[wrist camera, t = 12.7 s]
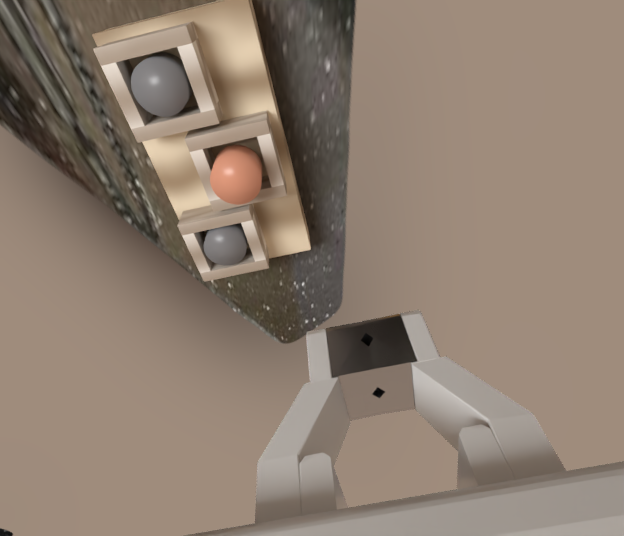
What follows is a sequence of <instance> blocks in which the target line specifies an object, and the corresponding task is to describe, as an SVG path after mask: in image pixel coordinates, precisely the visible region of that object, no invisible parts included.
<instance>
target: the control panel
mask: <svg viewBox="0 0 624 536" xmlns="http://www.w3.org/2000/svg"><path fill="white" fill-rule="evenodd" d="M92 36H93V38H94V40H95V42H96V44H97V46H98V47H96V48H94V49H93V50H94V52H95V54H96V56H97V58H98V61H99V63H100V65H101V67H102V69H103V71H104V73H105V75H106V77H107V79H108V81H109V84H110V86H111V88H112V90H113V92H114V94H115V96H116V98H117V100H118V102H119V105H120V107H121V109H122V111H123V113H124V115H125V117H126V119H127V121H128V123H129V125H130V128H131V130H132V132H133V134H134V136H135V138H136V140H137V142H138V143H139V142H143V144H144V146H145V148H146V150H147V153H148V155H149V157H150V159H151V161H152V163H153V165H154V167H155V170H156V172H157V174H158V176H159V178H160V180H161V182H162V184H163V187H164V189H165V191H166V193H167V195H168V197H169V199H170V201H171V204H172V206H173V208H174V210H175V212H176V214H177V216H178V219H179V223H178V225H177V226H178V228H179V230H180V232H181V234H182V236H183V238H184V240H185V243H186V245H187V247H188V249H189V251H190V253H191V255H192V257H193V259H194V261H195V263H196V266H197V268H198V270H199V272H200V274H201V276H202V278H203V280H204V282H205V281H210V280H214V279H219V278H224V277H229V276H233V275H238V274H243V273H248V272H252V271H257V270H262V269H267V268H269V258H274V257H279V256H283V255H288V254H293V253H298V252H302V251H307V250H311V245H310V237H309V230H308V226H307V222H306V218H305V214H304V210H303V206H302V202H301V198H300V194H299V190H298V186H297V182H296V178H295V174H294V170H293V166H292V162H291V157H290V153H289V149H288V145H287V141H286V137H285V133H284V129H283V125H282V121H281V117H280V113H279V109H278V105H277V101H276V97H275V93H274V89H273V85H272V81H271V77H270V73H269V68H268V64H267V60H266V56H265V52H264V48H263V44H262V40H261V36H260V32H259V28H258V24H257V20H256V16H255V12H254V8H253V4H252V0H219V1H215V2H212V3H208V4H204V5H200V6H196V7H192V8H188V9H184V10H180V11H176V12H172V13H169V14H165V15H161V16H157V17H153V18H149V19H145V20H141V21H137V22H133V23H129V24H126V25H122V26H118V27H114V28H110V29H107V30H104V31H101V32H98V33H95V34H92ZM159 52H166V53H171V54H173V55H175V56H177V57H179V58H180V59H181V60H182V62H183V65H184V67H185V70H186V73H187V76H188V78H189V81H190V84H191V87H192V89H193V93H192V96H191V97H190V99H189V100H188V102H187V103H186V105H185V106H184V108H183V109H182V110H181V111H180V112H179V113H177V114H175V115H173V116H169V117H161V116H157V115H154V114H152V113H150V112H148V111H146V110H145V109H144V108H143V107H142V106H141V105H140V104H139V103H138V101H137V100H136V98H135V96H134V94H133V92H132V88H131V76H132V73H133V70H134V69H135V67H136V66H137V65H138V64H139V63H140V62H142V61H143V60H145V59H146V58H148V57H149V56H151V55H152V54H155V53H159ZM230 145H243V146H246V147H248V148H250V149H252V150H253V151H254V152H255V153H256V154H257V155H258V157H259V158H260V160H261V163H262V183H261V189H260V192H259V194H258V195H257V196H256V197H255V198H254V199H253V200H252V201H250V202H248V203H245V204H239V205H236V204H230V203H227V202H225V201H223V200H221V199H220V198H219V197H218V196H217V195H216V194H215V193H214V191H213V189H212V187H211V184H210V174H211V171H212V168H213V165H214V162H215V159H216V156H217V155H218V153H219V152H220V151H221V150H222V149H224V148H225V147H227V146H230ZM237 223H241V224H242V227H243V230H244V232H245V235H246V238H247V249H246V254H245V256H244V258H243V259H242V260H241V261H240V262H238V263H237V264H234V265H228V266H225V265H219V264H216V263H214V262H213V261H211V260H210V259H209V258H208V257H207V256H206V254H205V252H204V241H205V238H206V234H207V230H210V229H214V228H219V227H224V226H228V225H233V224H237Z"/></svg>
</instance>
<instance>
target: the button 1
mask: <svg viewBox="0 0 624 536" xmlns="http://www.w3.org/2000/svg"><path fill="white" fill-rule="evenodd" d="M131 88H132V92H133V94H134V96H135V98H136V100H137V101H138V103H139V104H140V105H141V106H142V107H143V108H144V109H145V110H146V111H148V112H150V113H152V114H154V115H157V116H161V117H169V116H173V115H175V114H177V113H179V112H180V111H181V110H182V109H183V108H184V106H185V105H186V103H187V102H188V100H189V99H190V97H191V96H192V93H193V89H192V87H191V84H190V81H189V78H188V76H187V73H186V70H185V67H184V65H183V62H182V60H181V59H180V58H179V57H177V56H175V55H173V54H171V53H166V52H159V53H155V54H152V55H151V56H149V57H148V58H146V59H145V60H143V61H142V62H140V63H139V64H138V65H137V66H136V67H135V69H134V70H133V73H132V76H131Z"/></svg>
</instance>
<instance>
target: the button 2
mask: <svg viewBox="0 0 624 536" xmlns="http://www.w3.org/2000/svg"><path fill="white" fill-rule="evenodd" d="M246 249H247V238H246V235H245V232H244V230H243V227H242V224H241V223H237V224H233V225H228V226H224V227H219V228H214V229H210V230H207V234H206V238H205V241H204V252H205V254H206V256H207V257H208V258H209V259H210V260H211V261H213V262H214V263H216V264H219V265H225V266H228V265H234V264H237V263H238V262H240V261H241V260H242V259H243V258H244V256H245V254H246Z"/></svg>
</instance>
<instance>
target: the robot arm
mask: <svg viewBox="0 0 624 536" xmlns="http://www.w3.org/2000/svg"><path fill="white" fill-rule="evenodd" d="M306 338H307V350H308V363H309V374H310V382H309V383H305V384H304V385H303V387H302V389H301V391H300V392H299V394H298V396H297V397H296V399H295V400H294V402H293V404H292V406H291V407H290V409H289V411H288V412H287V414H286V416H285V417H284V419H283V421H282V422H281V424H280V426H279V427H278V429H277V431H276V433H275V434H274V436H273V438H272V439H271V441H270V443H269V444H268V446H267V448H266V449H265V451H264V453H263V454H262V456H261V458H260V459H259V461H258V466H257V488H256V489H257V490H256V513H255V524H249V525H244V526H238V527H232V528H226V529H220V530H214V531H208V532H202V533H196V534H190V535H184V536H624V461H623V462H617V463H611V464H605V465H599V466H594V467H587V468H581V469H576V470H570V471H566V470H565V468H564V466H563V464H562V463H561V461H560V459H559V457H558V456H557V454H556V452H555V451H554V449H553V447H552V445H551V444H550V442H549V440H548V439H547V437H546V435H545V433H544V432H543V430H542V428H541V426H540V425H539V423H538V421H537V420H536V418H535V416H534V414H533V413H531V412H530V411H528V410H527V409H525V408H524V407H522V406H520V405H519V404H517V403H516V402H515V401H513V400H512V399H510V398H509V397H507V396H506V395H504V394H503V393H501V392H500V391H498V390H496V389H495V388H494V387H492V386H490V385H489V384H487V383H486V382H484V381H483V380H481V379H480V378H478V377H477V376H475V375H474V374H472V373H471V372H469V371H468V370H466V369H465V368H463V367H462V366H460V365H459V364H457V363H456V362H454V361H453V360H451V359H450V358H448V357H440V355H439V352H438V350H437V348H436V345H435V343H434V341H433V338H432V336H431V334H430V332H429V329H428V327H427V324H426V322H425V320H424V318H423V315H422V313H421V311H419V310H415V311H410V312H405V313H400V314H395V315H391V316H386V317H381V318H376V319H371V320H367V321H362V322H358V323H352V324H346V325H341V326H335V327H330V328H326V329H320V330H314V331H308V332H307V336H306ZM411 409H416V411H417V412H418V413H419V414H420V415H421V416H422V417H423V418H424V419H425V420H426V421H427V422H428V423H429V424H430V425H431V426H432V427H433V428H434V429H435V430H436V431H437V432H438V433H440V434H441V435H442V436H443V437H444V438H445V439H446V440H447V441H448V442H449V443H450V444H451V445H452V446H453V447H454V448H455V449H456V450H457V451H458V473H457V474H458V475H457V489H456V490H450V491H444V492H438V493H432V494H427V495H421V496H415V497H409V498H403V499H397V500H392V501H385V502H379V503H373V504H368V505H362V506H356V507H350V508H348V507H347V503H346V501H345V498H344V495H343V492H342V489H341V486H340V483H339V480H338V477H337V475H336V472H335V469H334V464H335V462H336V459H337V457H338V454H339V451H340V449H341V446H342V444H343V441H344V439H345V436H346V433H347V430H348V428H349V426H350V421H351V420H356V419H360V418H365V417H370V416H375V415H380V414H385V413H392V412H398V411H405V410H411Z"/></svg>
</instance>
